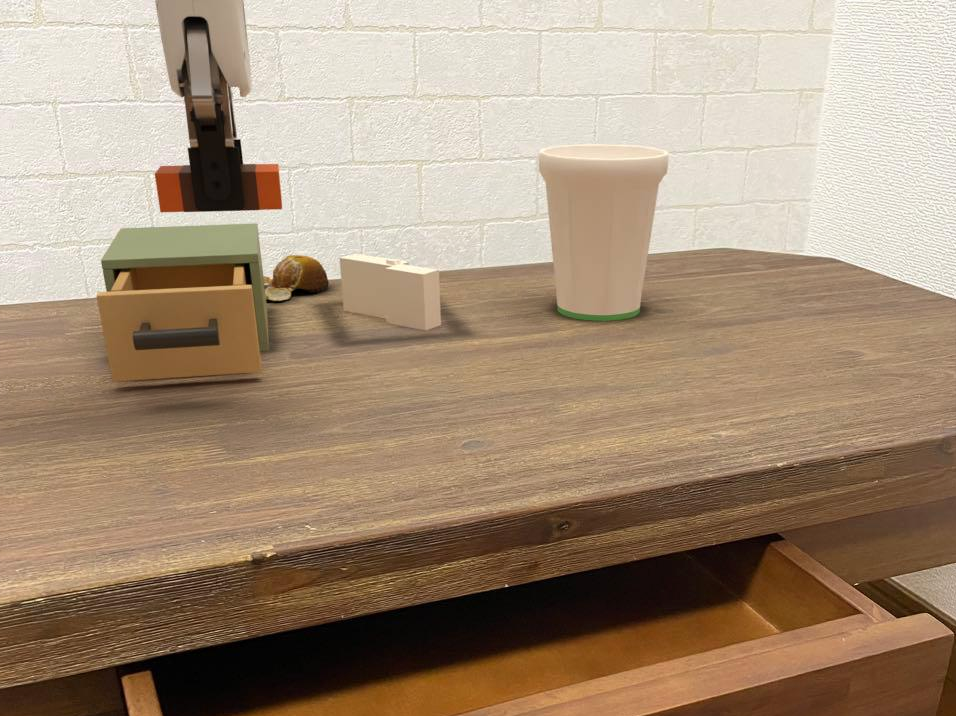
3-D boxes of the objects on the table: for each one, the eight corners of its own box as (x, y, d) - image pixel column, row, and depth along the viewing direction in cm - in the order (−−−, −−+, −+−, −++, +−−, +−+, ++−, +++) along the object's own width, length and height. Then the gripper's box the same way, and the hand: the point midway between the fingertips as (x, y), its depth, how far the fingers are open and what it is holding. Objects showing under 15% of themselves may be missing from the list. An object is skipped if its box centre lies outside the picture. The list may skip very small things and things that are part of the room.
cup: (684, 317, 103) (696, 154, 97) (577, 333, 98) (581, 162, 91) (616, 291, 113) (622, 141, 106) (515, 304, 108) (515, 147, 101)
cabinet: (269, 351, 92) (257, 253, 88) (118, 361, 89) (100, 259, 86) (267, 310, 105) (257, 223, 101) (135, 318, 102) (120, 228, 98)
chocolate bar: (160, 213, 70) (154, 173, 69) (165, 203, 73) (160, 165, 72) (282, 209, 71) (278, 170, 70) (281, 200, 75) (278, 163, 74)
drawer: (262, 390, 80) (251, 302, 77) (104, 401, 77) (87, 311, 74) (260, 328, 96) (251, 253, 93) (130, 335, 93) (116, 259, 90)
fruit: (239, 289, 113) (235, 255, 111) (310, 279, 117) (307, 246, 115) (269, 305, 107) (265, 269, 105) (343, 294, 111) (340, 259, 109)
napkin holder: (321, 306, 107) (316, 249, 104) (429, 298, 110) (427, 243, 107) (344, 345, 94) (339, 282, 91) (466, 335, 97) (464, 273, 95)
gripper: (244, -116, 58) (278, 224, 66) (250, -90, 72) (277, 186, 80) (100, -121, 56) (154, 228, 64) (136, -93, 71) (175, 188, 79)
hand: (222, 201), depth 72 cm, fingers closed on chocolate bar, 4 cm apart
